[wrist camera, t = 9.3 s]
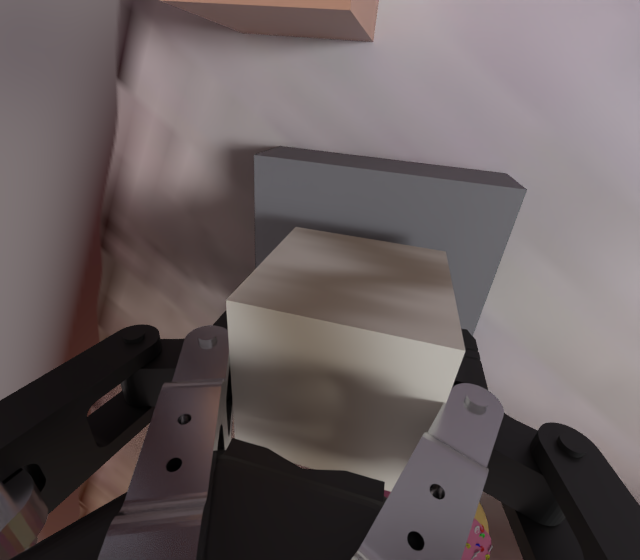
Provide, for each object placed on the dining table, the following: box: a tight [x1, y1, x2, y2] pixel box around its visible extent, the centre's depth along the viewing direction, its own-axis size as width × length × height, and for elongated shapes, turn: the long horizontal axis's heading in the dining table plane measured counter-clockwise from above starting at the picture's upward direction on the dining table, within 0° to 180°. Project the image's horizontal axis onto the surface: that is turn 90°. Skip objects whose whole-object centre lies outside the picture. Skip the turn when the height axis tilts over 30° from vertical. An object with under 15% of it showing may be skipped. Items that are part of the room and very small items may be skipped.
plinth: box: [254, 146, 527, 336], centre depth 16 cm, size 10×10×3 cm
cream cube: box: [226, 227, 465, 492], centre depth 11 cm, size 6×6×6 cm
